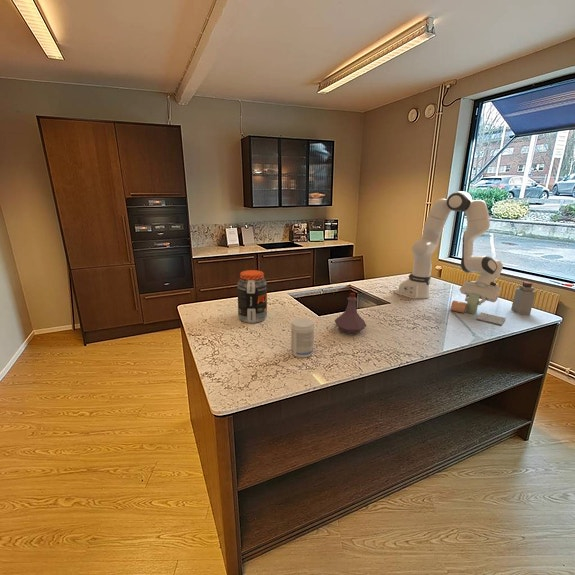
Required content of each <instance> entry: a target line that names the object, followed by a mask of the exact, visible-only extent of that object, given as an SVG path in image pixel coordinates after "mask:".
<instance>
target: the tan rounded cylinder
mask: <svg viewBox="0 0 575 575" xmlns="http://www.w3.org/2000/svg"><path fill="white" fill-rule="evenodd" d="M466 307H467V302H463V301H458V300H452V301H451V305H450V311H453V312H456V313H461V314H465V312H466Z"/></svg>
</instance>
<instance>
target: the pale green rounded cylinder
mask: <svg viewBox="0 0 575 575" xmlns="http://www.w3.org/2000/svg"><path fill="white" fill-rule="evenodd" d="M479 298H480V295H479V294H475V293H469V296H468V301H466V303H467V307H466V311H465V312H466V313H467V312H468V313H467V314H471V313H472V314H471V315H473V314H475V313H476V314H477V312H478V307H479V305H477V302H478V301H480V299H479Z"/></svg>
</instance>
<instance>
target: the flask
mask: <svg viewBox="0 0 575 575" xmlns="http://www.w3.org/2000/svg"><path fill="white" fill-rule="evenodd" d="M346 299H347V301H348V302H347V306H346V308H345V310H344V312H343V313H341V315H339V316H338V317H337V318H335V320H334V323H335V326H336V327H337V328H338V330H339V331H340V332H341V333H343V334H345V335H357V334H359V333H361V332H362V331H363V330H364V329H365V328H366V327H367V326H368V325H367V323H366V322H365V320H364V319H363V318H362V316H360V314H359V313H358V310H357V306H356V305H357V301H358V298H357V297H356V293H355V292H350V293H349V297H347V298H346Z"/></svg>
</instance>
